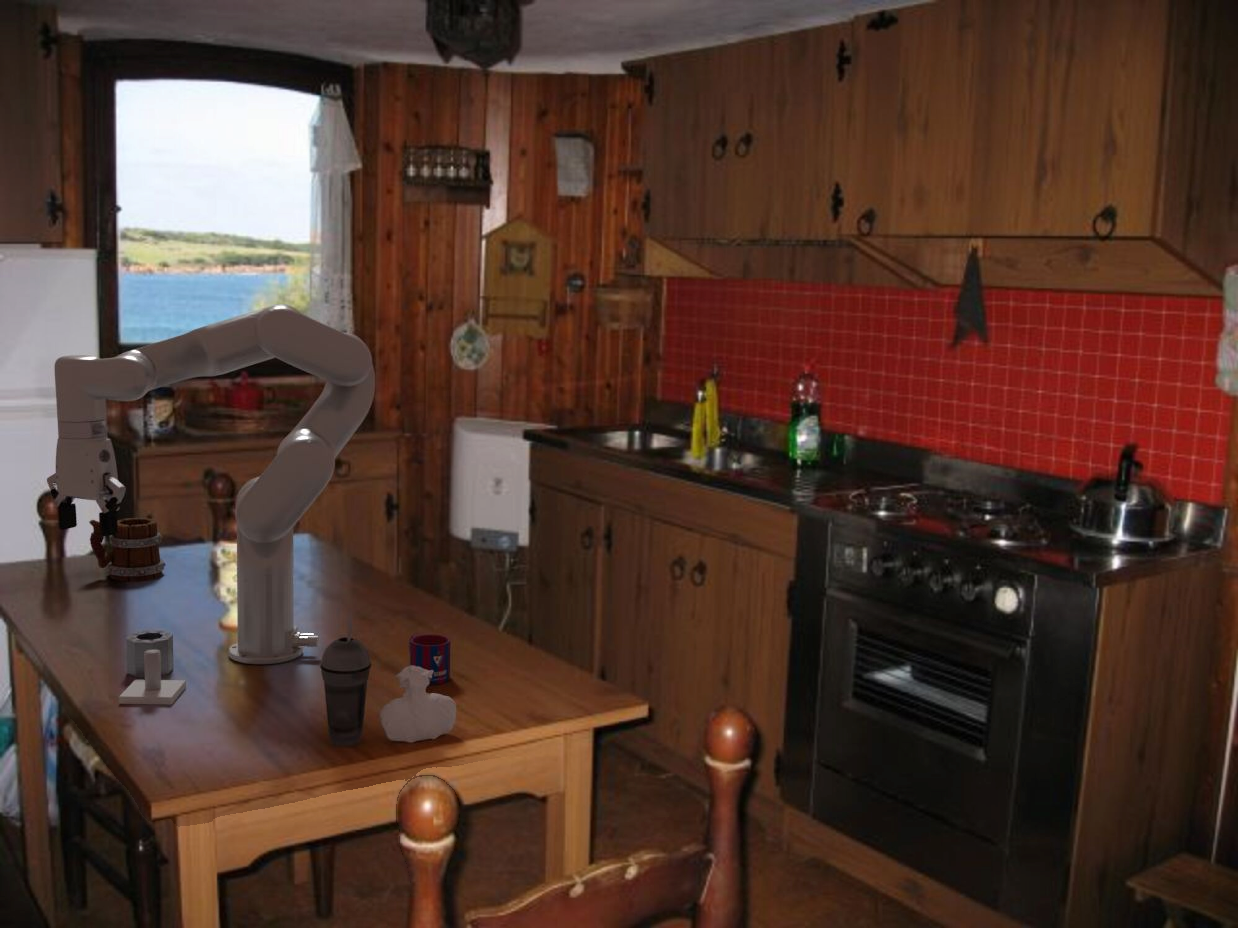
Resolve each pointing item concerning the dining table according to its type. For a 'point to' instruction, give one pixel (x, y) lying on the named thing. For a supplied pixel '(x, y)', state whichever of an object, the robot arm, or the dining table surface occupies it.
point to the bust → (417, 709)
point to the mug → (130, 550)
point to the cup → (431, 655)
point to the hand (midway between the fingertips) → (88, 531)
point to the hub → (149, 641)
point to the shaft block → (152, 685)
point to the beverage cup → (345, 688)
